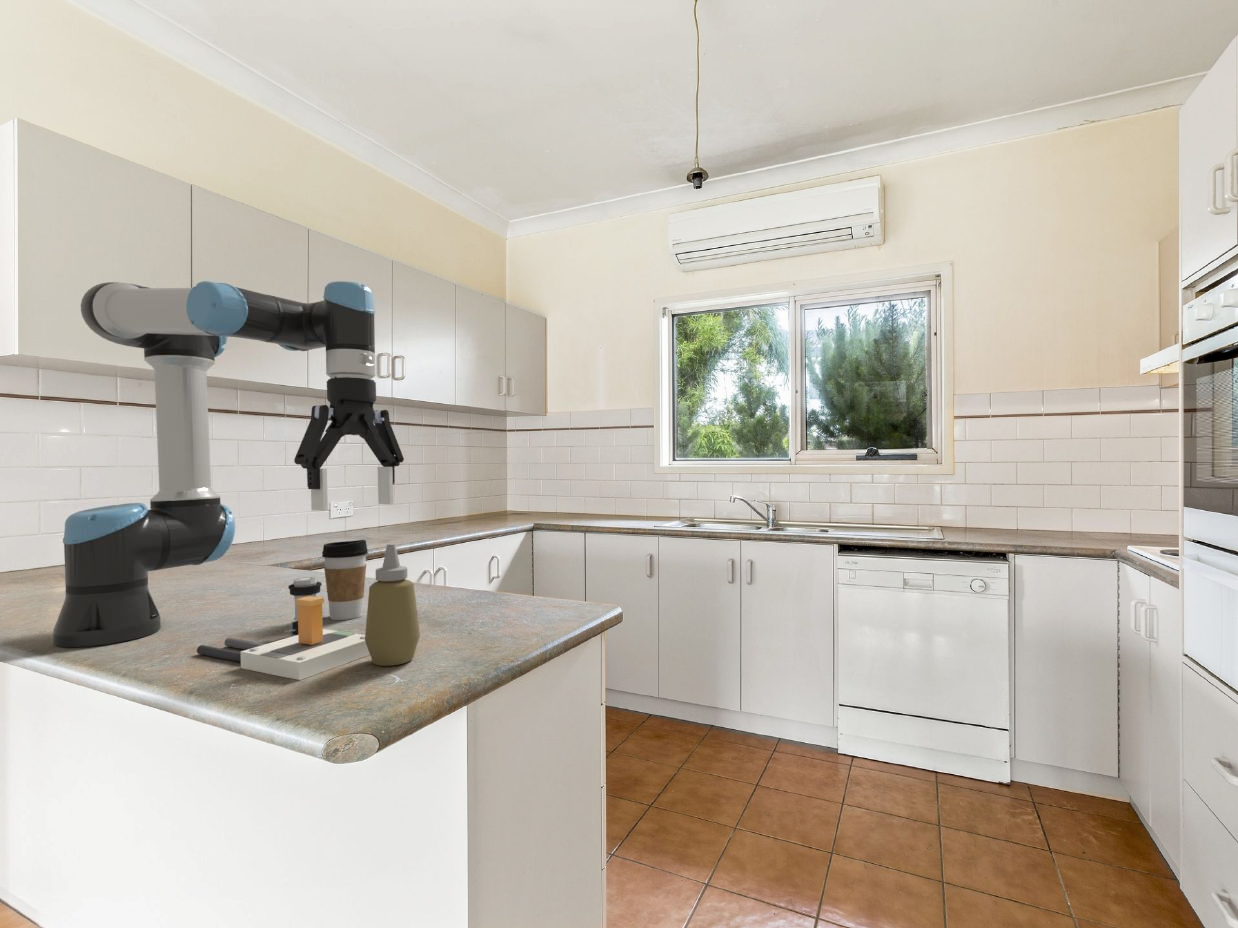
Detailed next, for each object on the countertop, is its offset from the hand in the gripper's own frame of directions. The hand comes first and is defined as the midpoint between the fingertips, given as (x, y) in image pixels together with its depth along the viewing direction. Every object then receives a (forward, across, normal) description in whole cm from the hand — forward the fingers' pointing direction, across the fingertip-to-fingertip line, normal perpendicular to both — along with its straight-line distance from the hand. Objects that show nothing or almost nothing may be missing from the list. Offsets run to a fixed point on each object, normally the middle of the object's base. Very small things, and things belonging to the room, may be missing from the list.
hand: (354, 507), depth 105 cm
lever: (+20, -8, +2) cm, 22 cm away
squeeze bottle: (+24, -3, -11) cm, 26 cm away
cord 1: (+23, -12, +15) cm, 30 cm away
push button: (+23, +2, +15) cm, 28 cm away
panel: (+23, -8, +2) cm, 25 cm away
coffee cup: (+23, +14, +19) cm, 33 cm away
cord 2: (+23, -8, +15) cm, 29 cm away
